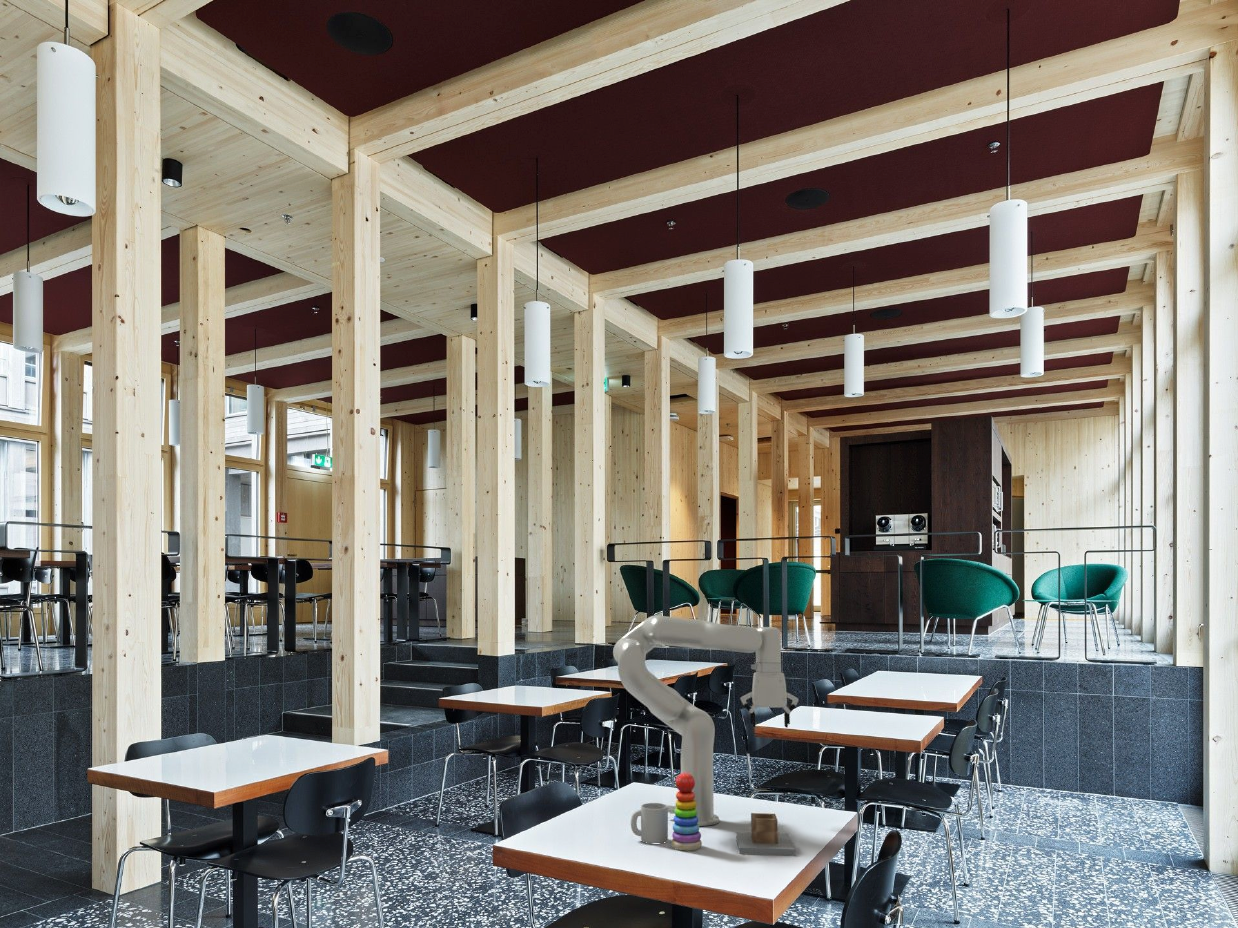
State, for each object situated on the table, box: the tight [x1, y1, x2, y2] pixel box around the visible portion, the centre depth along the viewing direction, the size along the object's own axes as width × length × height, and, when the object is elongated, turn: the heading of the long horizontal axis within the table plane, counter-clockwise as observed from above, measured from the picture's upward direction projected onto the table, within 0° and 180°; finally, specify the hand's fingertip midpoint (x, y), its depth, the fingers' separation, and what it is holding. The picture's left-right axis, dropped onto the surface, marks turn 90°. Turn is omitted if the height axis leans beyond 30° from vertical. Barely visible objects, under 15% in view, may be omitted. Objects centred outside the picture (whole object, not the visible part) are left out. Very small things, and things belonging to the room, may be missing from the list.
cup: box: [630, 802, 669, 844], centre depth 232 cm, size 7×10×9 cm
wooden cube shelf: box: [750, 812, 779, 844], centre depth 228 cm, size 6×6×6 cm
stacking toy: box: [671, 772, 703, 851], centre depth 227 cm, size 8×8×19 cm
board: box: [735, 831, 796, 856], centre depth 227 cm, size 14×15×5 cm
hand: (769, 726), depth 260 cm, fingers open, 9 cm apart
